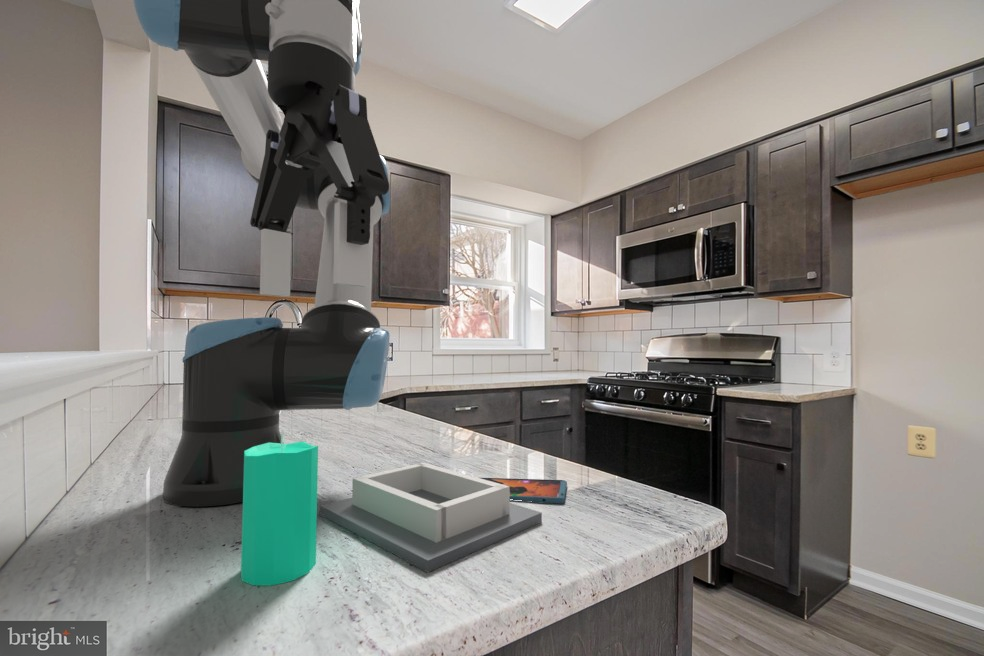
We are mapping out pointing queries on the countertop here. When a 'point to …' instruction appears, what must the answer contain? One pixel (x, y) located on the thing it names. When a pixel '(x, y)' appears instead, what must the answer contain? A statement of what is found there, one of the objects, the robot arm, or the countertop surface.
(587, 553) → the countertop surface
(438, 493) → the dock
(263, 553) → the candle
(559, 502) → the smartphone
